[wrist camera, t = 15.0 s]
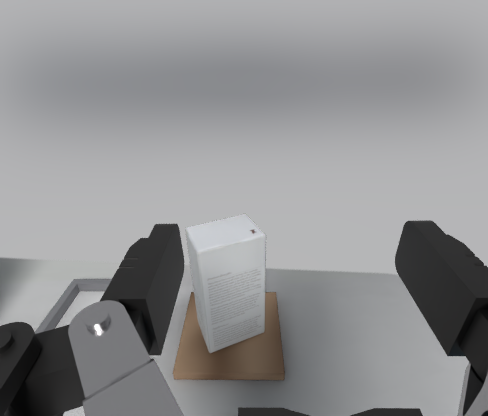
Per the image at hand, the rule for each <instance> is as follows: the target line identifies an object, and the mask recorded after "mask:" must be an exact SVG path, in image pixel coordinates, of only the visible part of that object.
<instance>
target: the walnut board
mask: <svg viewBox="0 0 488 416" xmlns="http://www.w3.org/2000/svg"><path fill="white" fill-rule="evenodd" d="M173 375H174V379H201V380H284V376H285V371H284V362H283V353H282V344H281V334H280V325H279V316H278V307H277V298H276V292H265V331H264V333H261V334H258V335H256V336H253V337H251V338H248V339H246V340H243V341H240V342H238V343H235V344H233V345H230V346H228V347H225V348H222V349H220V350H217V351H215V352H212V353H209V351H208V348H207V345H206V343H205V340H204V337H203V334H202V331H201V329H200V326H199V323H198V319H197V311H196V304H195V296H194V292H191V296H190V300H189V304H188V309H187V313H186V318H185V322H184V326H183V331H182V335H181V339H180V344H179V348H178V353H177V357H176V361H175V366H174V370H173Z"/></svg>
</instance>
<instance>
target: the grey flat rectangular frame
mask: <svg viewBox="0 0 488 416" xmlns="http://www.w3.org/2000/svg"><path fill="white" fill-rule="evenodd" d="M111 280H112V279H74V280H73V281H72V282H71V284H70V285H69V286H68V288H67V289H66V290H65V292H64V293H63V295H62V296H61V297H60V299H59V300H58V301H57V303H56V304H55V305H54V307H53V308H52V310H51V311H50V312H49V314H48V315H47V316H46V318H45V319H44V320H43V322H42V323H41V324H40V326H39V327H38V329H37V330H36V331H35V334H37V333H41V332H44V331H48V330H52V329H54V328H55V327H56V325H57V324H58V322H59V321H60V319H61V318H62V316H63V315H64V313H65V312H66V310H67V309H68V307H69V306H70V304H71V303H72V302H73V300H74V299H75V297H76V296H77V294H78V293H79V291H106V289H107V287H108V286H109V284H110V282H111Z"/></svg>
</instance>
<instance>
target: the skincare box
mask: <svg viewBox="0 0 488 416" xmlns="http://www.w3.org/2000/svg"><path fill="white" fill-rule="evenodd" d="M185 231H186V238H187V245H188V253H189V259H190V267H191V274H192V282H193V289H194V296H195V304H196V311H197V319H198V323H199V326H200V329H201V331H202V334H203V337H204V340H205V343H206V345H207V348H208V351H209V353H212V352H215V351H217V350H220V349H222V348H225V347H228V346H230V345H233V344H235V343H238V342H240V341H243V340H246V339H248V338H251V337H253V336H256V335H258V334H261V333H264V331H265V274H266V235H265V233H263V232H262V230H261V229H260V228H259V227H258V226H257V225H256V224H255V223H254V222H253V221H252V220H251V219H250V217H249V216H248V215H247V214H241V215H237V216H234V217H230V218H225V219H221V220H216V221H212V222H208V223H204V224H199V225H195V226H191V227H187V228H186V229H185Z"/></svg>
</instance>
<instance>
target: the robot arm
mask: <svg viewBox="0 0 488 416" xmlns="http://www.w3.org/2000/svg"><path fill="white" fill-rule="evenodd" d="M395 265H396V270H397V273H398V275H399V276H400V278H401V279H402V281H403V283H404V284H405V286H406V288H407V289H408V291H409V293H410V294H411V296H412V298H413V299H414V301H415V303H416V304H417V306H418V308H419V309H420V311H421V313H422V314H423V316H424V318H425V319H426V321H427V323H428V324H429V326H430V327H431V329H432V331H433V332H434V334H435V336H436V337H437V339H438V341H439V342H440V344H441V346H442V347H443V349H444V351H445V352H446V354H447V356H466V358H467V359H468V361H469V364H468V366H467V367H466V370H465V376H464V382H463V387H462V393H461V398H460V404H459V410H458V415H457V416H488V267H487V266H484V263H483V262H482V261H481V260H479V258H478V257H475V254H474V253H473V252H472V251H470V249H469V248H468V247H467V246H466V245H465V244H464V243H462V242H460V241H458V240H457V239H455V238H453V237H452V236H450V235H446V234H445V233H444V232H443V231H442V230H441V229H440V228H439V227H438V226H437V225H436V224H435V223H434V222H433V221H407V222H406V223H405V225H404V227H403V231H402V234H401V238H400V242H399V245H398V249H397V252H396V257H395ZM183 273H184V256H183V250H182V244H181V238H180V232H179V227H178V225H177V224H156V225H155V226H154V228H153V230H152V232H151V234H150V236H149V238H140V239H139V240H138V241H137V242H136V243H134V244H133V245H132V246H131V247H130V248H129V250H128V252H127V253H126V255H125V257H124V260H123V261H122V262H121V264H120V266H119V269H118V270H117V271H116V273H115V275H114V277H113V278H112V280H111V282H110V284H109V286H108V287H107V289H106V291H105V293H104V295H103V296H102V298H101V300H100V302H97V303H94V304H92V305H90V306H88V307H86V308H84V309H83V310H82V311H80V312H79V313H78V314H77V315H76V316H75V317H74V319H73V320H72V321H71V323H70V325H67V326H63V327H60V328H56V329H52V330H48V331H44V332H41V333H37V334H35V332H34V330H33V328H32V327H31V326H30V325H29V324H27V323H24V322H14V323H9V324H5V325H2V326H0V416H63V414H64V412H65V411H68V410H71V409H74V408H77V407H81V406H83V408H84V412H85V416H183V414H182V412H181V410H180V408H179V406H178V404H177V402H176V400H175V398H174V396H173V394H172V392H171V390H170V388H169V386H168V384H167V383H166V381H165V379H164V377H163V375H162V373H161V371H160V369H159V367H158V365H157V363H156V362H155V360H154V359H151V358H150V356H149V355H161V352H162V349H163V345H164V342H165V338H166V334H167V331H168V327H169V324H170V320H171V316H172V313H173V309H174V306H175V302H176V299H177V295H178V291H179V288H180V284H181V281H182V277H183ZM238 416H309V415H306V414H302V413H299V412H295V411H291V410H288V409H284V408H238ZM351 416H423V415H422V413H421V411H420V409H402V408H374V409H371V410H367V411H364V412H361V413H358V414H354V415H351Z"/></svg>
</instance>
